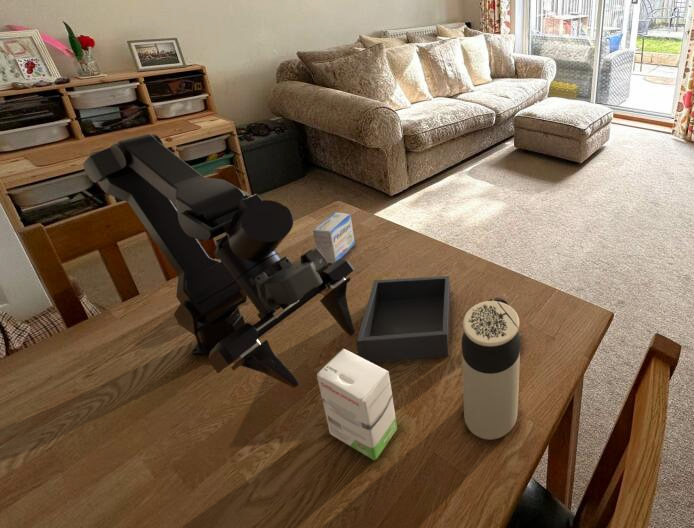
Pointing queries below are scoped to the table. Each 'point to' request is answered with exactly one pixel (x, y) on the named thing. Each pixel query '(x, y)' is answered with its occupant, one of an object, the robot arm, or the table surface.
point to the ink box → (358, 403)
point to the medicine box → (334, 236)
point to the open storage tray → (406, 320)
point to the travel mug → (490, 369)
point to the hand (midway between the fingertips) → (326, 358)
